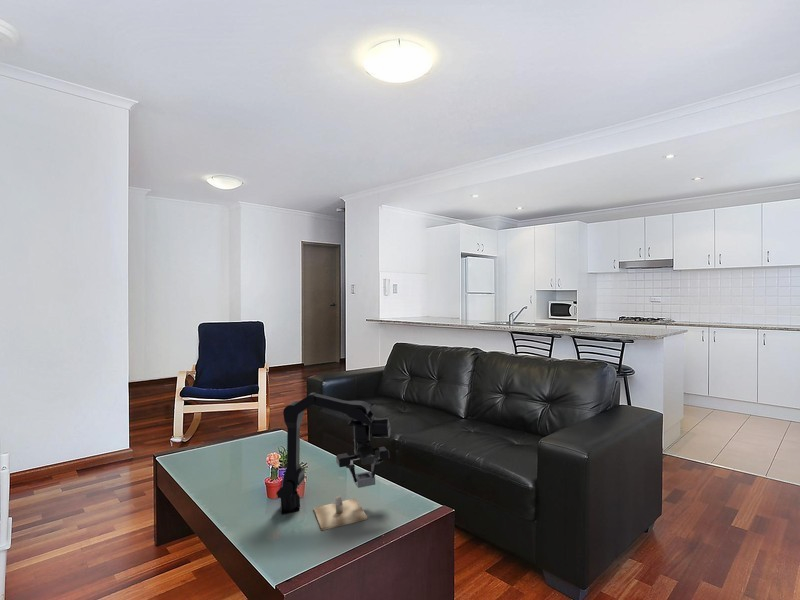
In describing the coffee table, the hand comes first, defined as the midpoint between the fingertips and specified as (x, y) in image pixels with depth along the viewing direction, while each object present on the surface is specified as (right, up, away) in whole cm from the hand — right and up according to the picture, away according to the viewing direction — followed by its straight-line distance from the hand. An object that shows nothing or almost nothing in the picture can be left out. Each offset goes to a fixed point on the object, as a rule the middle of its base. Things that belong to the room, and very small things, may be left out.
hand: (364, 480), depth 163 cm
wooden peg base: (-8, -11, -3) cm, 14 cm away
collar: (0, -1, 0) cm, 1 cm away
